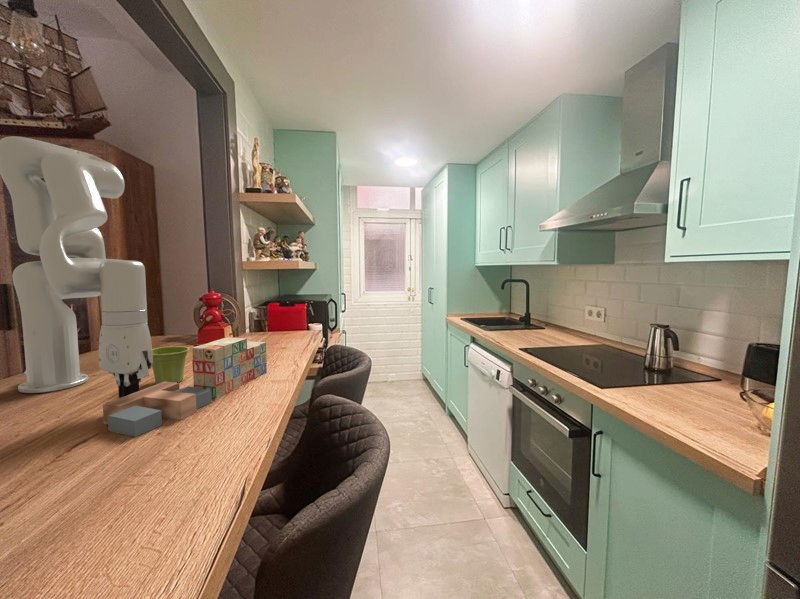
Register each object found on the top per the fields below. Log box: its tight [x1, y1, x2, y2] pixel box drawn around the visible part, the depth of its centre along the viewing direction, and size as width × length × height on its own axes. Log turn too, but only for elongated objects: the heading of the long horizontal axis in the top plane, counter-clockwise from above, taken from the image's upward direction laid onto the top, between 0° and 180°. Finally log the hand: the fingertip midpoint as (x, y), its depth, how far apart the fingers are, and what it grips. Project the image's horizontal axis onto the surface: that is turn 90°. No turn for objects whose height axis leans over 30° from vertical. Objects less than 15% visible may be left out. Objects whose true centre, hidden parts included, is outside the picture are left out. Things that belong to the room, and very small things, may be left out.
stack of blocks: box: [191, 337, 268, 399], centre depth 91 cm, size 21×6×12 cm, turn 169°
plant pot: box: [151, 345, 190, 385], centre depth 91 cm, size 9×9×9 cm
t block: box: [102, 381, 197, 425], centre depth 72 cm, size 13×14×4 cm
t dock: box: [107, 385, 213, 438], centre depth 71 cm, size 7×17×3 cm, turn 163°
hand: (129, 401), depth 74 cm, fingers closed
